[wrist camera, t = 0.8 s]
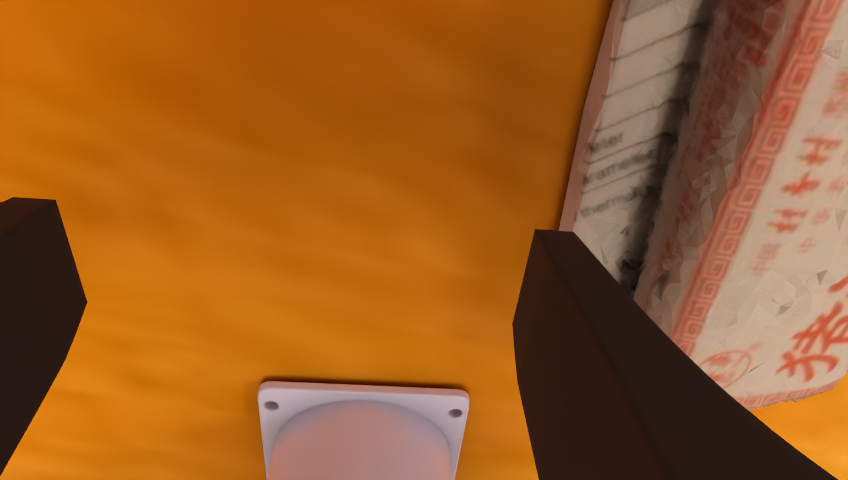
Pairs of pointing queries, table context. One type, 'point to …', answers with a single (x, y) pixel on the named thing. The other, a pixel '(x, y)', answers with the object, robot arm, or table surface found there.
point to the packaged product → (725, 184)
